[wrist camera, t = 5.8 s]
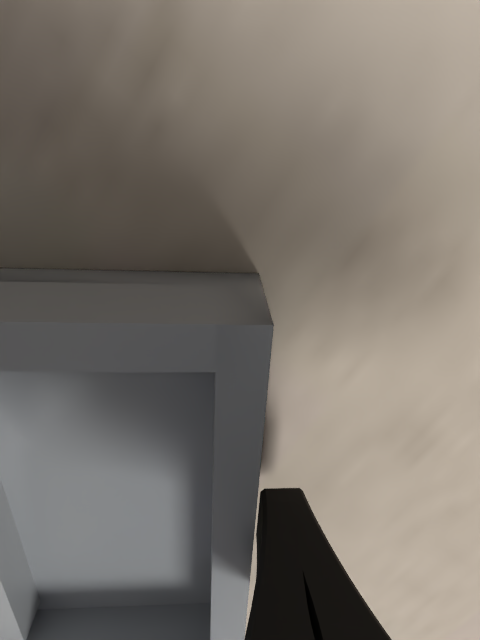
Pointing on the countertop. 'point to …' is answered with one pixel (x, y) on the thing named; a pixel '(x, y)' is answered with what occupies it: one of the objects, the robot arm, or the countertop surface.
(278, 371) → the countertop surface
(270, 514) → the robot arm
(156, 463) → the tray
